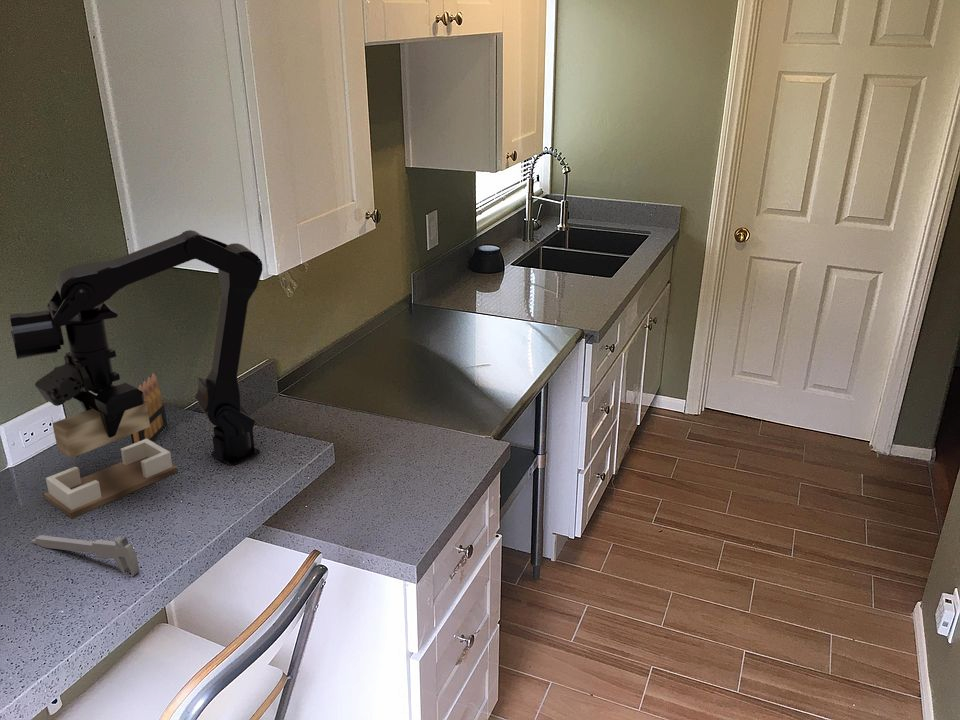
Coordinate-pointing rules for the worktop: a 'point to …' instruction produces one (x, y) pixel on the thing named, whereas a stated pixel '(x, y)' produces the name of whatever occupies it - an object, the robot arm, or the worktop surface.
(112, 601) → the worktop surface
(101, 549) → the caliper
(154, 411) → the ammunition clip
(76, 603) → the worktop surface
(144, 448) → the end caps
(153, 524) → the worktop surface
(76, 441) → the maple slat
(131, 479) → the walnut board
